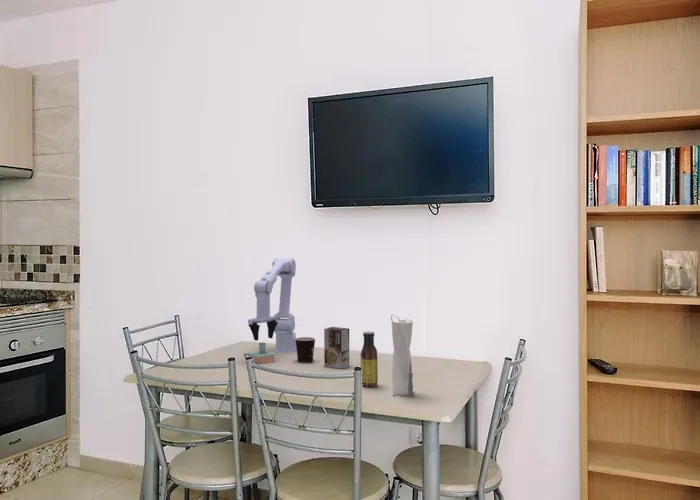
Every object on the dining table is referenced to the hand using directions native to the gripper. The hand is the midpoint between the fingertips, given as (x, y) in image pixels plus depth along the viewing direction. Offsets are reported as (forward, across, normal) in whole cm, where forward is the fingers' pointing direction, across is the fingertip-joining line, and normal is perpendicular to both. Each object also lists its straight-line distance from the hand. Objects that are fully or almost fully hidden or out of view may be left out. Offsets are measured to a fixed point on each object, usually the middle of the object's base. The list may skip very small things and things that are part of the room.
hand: (263, 339), depth 254 cm
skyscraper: (+10, -6, +74) cm, 75 cm away
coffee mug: (+10, -15, +12) cm, 22 cm away
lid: (+7, 0, -1) cm, 7 cm away
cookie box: (+10, -18, +28) cm, 35 cm away
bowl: (+10, 0, 0) cm, 10 cm away
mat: (+10, -5, -11) cm, 16 cm away
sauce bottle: (+10, -5, +59) cm, 60 cm away
